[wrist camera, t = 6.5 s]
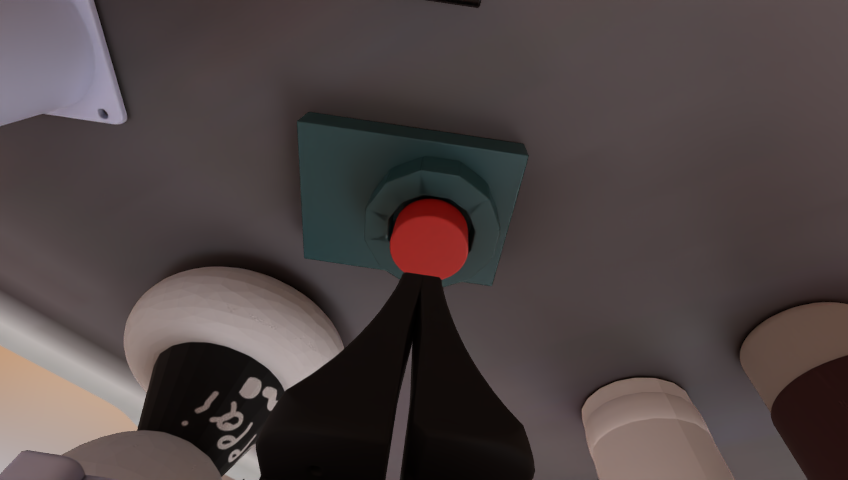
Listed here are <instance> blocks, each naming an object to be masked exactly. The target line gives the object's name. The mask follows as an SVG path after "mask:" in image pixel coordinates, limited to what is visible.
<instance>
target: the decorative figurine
mask: <svg viewBox="0 0 848 480" xmlns="http://www.w3.org/2000/svg"><path fill="white" fill-rule="evenodd" d="M124 349H125V354H126V359H127V362H128V365H129V367H130V369H131V371H132V373H133V375H134V377H135V379H136V380H137V381H138V383H139V384H140V385H141V387H142V388H143V389H144V390H145V392H146V393H147V394H146V398H145V402H144V406H143V410H142V414H141V418H140V422H139V426H138V430H137V431H128V432H121V433H116V434H112V435H108V436H104V437H101V438H98V439H95V440H92V441H90V442H87V443H84V444H82V445H80V446H78V447H76V448H74V449H72V450H70V451H68V452H66V453H64V454H63V455H62V456H66V457H70V458H72V459H74V460H76V461H77V462H78V463H80V464H81V466H82V467H83V470H84V472H85V475H91V476H98V477H105V478H111V479H118V480H222V478H221V477H222V476H223V475H224V474H225V473H226V472H227V471H228V470H229V469H230V468H231V467H232V466H233V465H234V464H235V463H236V462H237V461H238V460H239V459H240V458H241V457H242V456H243V455H244V454H245V453H246V452H247V451H248V450H249V449H251V448H252V447H253V446H254V445H255V444H256V441H257V439H258V437H259V435H260V433H261V430H262V428H263V426H264V424H265V422H266V420H267V418H268V416H269V414H270V413H271V411H272V409H273V408H274V406H275V405H276V403H277V402H278V400H279V399H280V397H281V396H282V395H283V393H284V392H285V391H286V390H287V389H288V388H290V387H292V386H293V385H295V384H296V383H298V382H300V381H301V380H303V379H304V378H306V377H308V376H309V375H311V374H312V373H314V372H315V371H317V370H318V369H319V368H321V367H322V366H323V365H325V364H326V363H327V362H329V361H330V360H331V359H333V358H334V357H335V356H336V355H338V354H339V353H340V352H341V351H342V350H343V349H344V346H343V343H342V340H341V338H340V336H339V334H338V331H337V330H336V328H335V327H334V325H333V323H332V322H331V320H330V319H329V318H328V317H327V316H326V314H325V313H324V312H323V311H322V310H321V309H320V308H319V307H318V306H317V305H316V304H315V303H314V302H313V301H311V300H310V299H309V298H308V297H306V296H305V295H303V294H302V293H300V292H299V291H297V290H296V289H294V288H293V287H291V286H289V285H287V284H285V283H283V282H281V281H279V280H277V279H275V278H273V277H270V276H267V275H264V274H261V273H257V272H254V271H251V270H246V269H241V268H232V267H203V268H196V269H191V270H187V271H184V272H180V273H177V274H175V275H172V276H170V277H167V278H165V279H164V280H162V281H160V282H159V283H157V284H156V285H154V286H153V287H152V288H150V289H149V290H148V291H147V292H146V293H145V294H144V295H143V296H142V297H141V298H140V299H139V300H138V302H137V303H136V305H135V306H134V308H133V309H132V311H131V313H130V315H129V317H128V320H127V322H126V327H125V332H124ZM243 480H244V479H243Z"/></svg>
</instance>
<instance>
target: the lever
mask: <svg viewBox="0 0 848 480" xmlns="http://www.w3.org/2000/svg"><path fill="white" fill-rule="evenodd" d="M427 1H434V2H441V3H448V4H454V5H461V6H468V7H475V8H478V7H479V6H480V3H481V0H427Z"/></svg>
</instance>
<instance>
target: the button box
mask: <svg viewBox="0 0 848 480" xmlns="http://www.w3.org/2000/svg"><path fill="white" fill-rule="evenodd" d="M297 133H298V151H299V170H300V188H301V207H302V226H303V244H304V258H306V259H313V260H320V261H326V262H333V263H340V264H346V265H353V266H360V267H367V268H373V269H380V270H386V271H387V272H389V273H390V274H392V275H394V276H395V277H397V278H398V279H401V277H402V274H404V272H403V271H402V270H401V269H400V268H399V267H398V266H397V265H396V264H395V262H394V260H393V258H392V256H391V253H390V239H391V236H392V232H393V229H394V225H395V222H396V219H397V217H398V215H399V213H400V212H401V211H402V210H403V209H404V208H405V207H406V206H407V205H409V204H410V203H412V202H415V201H417V200H421V199H439V200H443V201H446V202H448V203H450V204H451V205H453V206H455V207H456V208H457V209H458V210H459V211H460V212H461V213H462V215H463V216H464V218H465V220H466V223H467V227H468V256H467V259H466V261H465V263H464V265H463V266H462V267H461V269H460V270H459V271H458V272H456V273H455V274H453V275H452V276H450V277H448V278H445V279H442V286H443V287H445V286H449V285H452V284H456V283H460V282H467V283H474V284H480V285H487V286H492V284H493V280H494V277H495V273H496V270H497V266H498V263H499V259H500V256H501V252H502V249H503V245H504V242H505V238H506V235H507V231H508V227H509V224H510V220H511V217H512V213H513V210H514V206H515V203H516V199H517V196H518V192H519V189H520V185H521V182H522V178H523V175H524V171H525V168H526V164H527V161H528V157H529V156H528V153H527V150H526V148H525V145H524V144H521V143H514V142H508V141H501V140H494V139H487V138H481V137H474V136H467V135H461V134H454V133H447V132H440V131H434V130H427V129H420V128H414V127H407V126H400V125H393V124H387V123H380V122H373V121H367V120H360V119H353V118H346V117H340V116H333V115H326V114H320V113H313V112H308V113H307V114H305V115H304V116H303V117H302V118H300V119H299V120H298V121H297Z"/></svg>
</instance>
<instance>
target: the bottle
mask: <svg viewBox="0 0 848 480" xmlns="http://www.w3.org/2000/svg"><path fill="white" fill-rule="evenodd" d="M582 421H583V424H584V428H585V433H586V440H587V444H588V448H589V451H590V454H591V457H592V459H593V460H594V463H595V467H596V471H597V474H598V478H599V480H735V479H734V477H733V475H732V473H731V471H730V470H729V468H728V466H727V464H726V462H725V461H724V459H723V457H722V455H721V454H720V452H719V450H718V448H717V446H716V445H715V443H714V439H713V437H712V435H711V433H710V431H709V429H708V427H707V425H706V423H705V421H704V420H703V418H702V416H701V414H700V413H699V411H698V410H697V408H696V407H695V406H694V405H693V403H692V402H691V400H690V398H689V396H688V395H687V393H686V391H685V390H683V389H682V388H680V387H679V386H677V385H676V384H674V383H672V382H668V381H664V380H661V379H657V378H636V377H635V378H630V379H625V380H619V381H615V382H613V383H611V384H609V385H606V386H604V387H602V388H600V389H599V390H597V391H596V392H595V393H594V394H592V395H591V396H590V397H589V398H588V399H587V400H586V402H585V404H584V406H583V408H582Z"/></svg>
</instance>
